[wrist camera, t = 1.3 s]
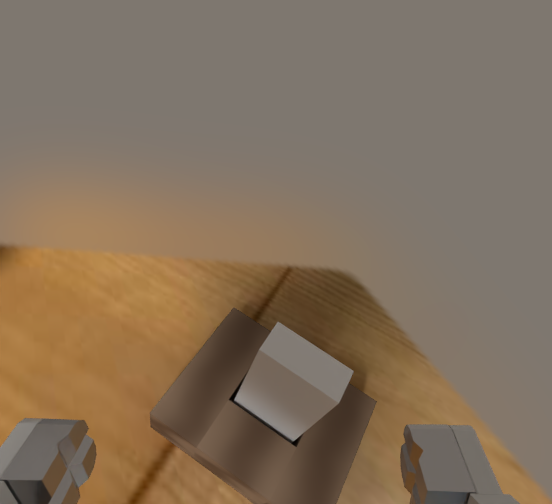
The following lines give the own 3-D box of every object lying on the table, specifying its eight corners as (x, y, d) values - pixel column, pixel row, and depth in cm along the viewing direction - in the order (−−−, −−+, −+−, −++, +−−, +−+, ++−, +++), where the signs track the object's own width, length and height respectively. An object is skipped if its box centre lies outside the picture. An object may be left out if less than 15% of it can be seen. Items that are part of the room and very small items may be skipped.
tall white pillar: (229, 410, 37) (259, 349, 26) (243, 387, 38) (278, 321, 27) (284, 449, 36) (339, 403, 25) (296, 424, 37) (353, 371, 26)
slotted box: (150, 426, 35) (149, 412, 32) (227, 327, 43) (233, 307, 39) (304, 541, 33) (321, 539, 29) (357, 414, 40) (376, 401, 37)
